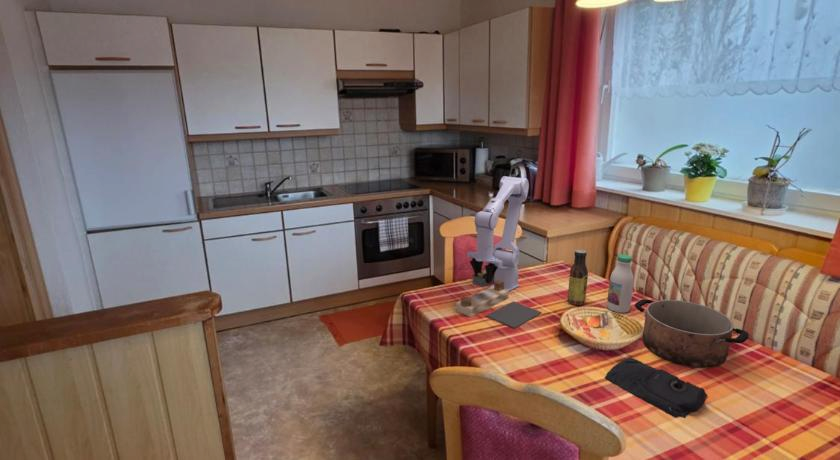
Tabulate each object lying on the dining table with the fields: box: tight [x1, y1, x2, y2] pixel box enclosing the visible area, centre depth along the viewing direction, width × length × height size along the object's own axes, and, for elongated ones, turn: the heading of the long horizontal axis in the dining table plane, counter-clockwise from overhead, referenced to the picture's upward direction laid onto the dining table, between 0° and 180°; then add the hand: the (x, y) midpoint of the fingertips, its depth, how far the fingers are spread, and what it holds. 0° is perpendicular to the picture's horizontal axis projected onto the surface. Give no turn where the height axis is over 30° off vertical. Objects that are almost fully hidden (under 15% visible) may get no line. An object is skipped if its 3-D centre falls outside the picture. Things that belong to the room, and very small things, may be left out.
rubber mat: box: [485, 301, 542, 330], centre depth 158 cm, size 16×12×1 cm
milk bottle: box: [606, 253, 634, 314], centre depth 160 cm, size 8×8×20 cm
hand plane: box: [455, 280, 510, 318], centre depth 166 cm, size 22×7×6 cm, turn 133°
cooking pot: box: [634, 298, 750, 369], centre depth 136 cm, size 30×22×11 cm
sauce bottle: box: [567, 249, 589, 306], centre depth 165 cm, size 6×6×20 cm
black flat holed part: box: [604, 357, 708, 419], centre depth 118 cm, size 15×22×5 cm
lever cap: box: [472, 269, 495, 288], centre depth 163 cm, size 7×4×4 cm, turn 133°
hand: (483, 280), depth 164 cm, fingers closed on lever cap, 4 cm apart
